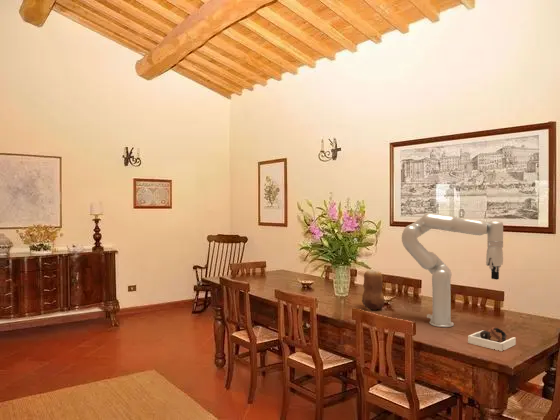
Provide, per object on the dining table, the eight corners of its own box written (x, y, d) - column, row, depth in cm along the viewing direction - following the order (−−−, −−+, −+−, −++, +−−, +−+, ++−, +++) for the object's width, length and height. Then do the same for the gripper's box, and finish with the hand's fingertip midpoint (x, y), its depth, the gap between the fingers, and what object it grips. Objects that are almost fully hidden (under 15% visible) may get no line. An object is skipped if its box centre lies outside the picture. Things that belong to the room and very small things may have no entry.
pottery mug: (493, 339, 223) (501, 327, 219) (503, 353, 214) (512, 340, 211) (472, 335, 220) (481, 322, 217) (482, 349, 212) (491, 336, 208)
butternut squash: (382, 307, 290) (382, 268, 290) (385, 312, 277) (385, 271, 276) (361, 306, 291) (361, 268, 291) (363, 311, 278) (363, 271, 278)
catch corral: (468, 343, 215) (468, 335, 215) (482, 337, 225) (482, 330, 225) (501, 351, 203) (501, 343, 203) (515, 344, 212) (515, 337, 212)
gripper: (494, 243, 244) (494, 276, 244) (481, 245, 235) (481, 279, 235) (508, 244, 238) (508, 278, 239) (495, 246, 229) (495, 281, 229)
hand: (495, 279), depth 237 cm, fingers closed
